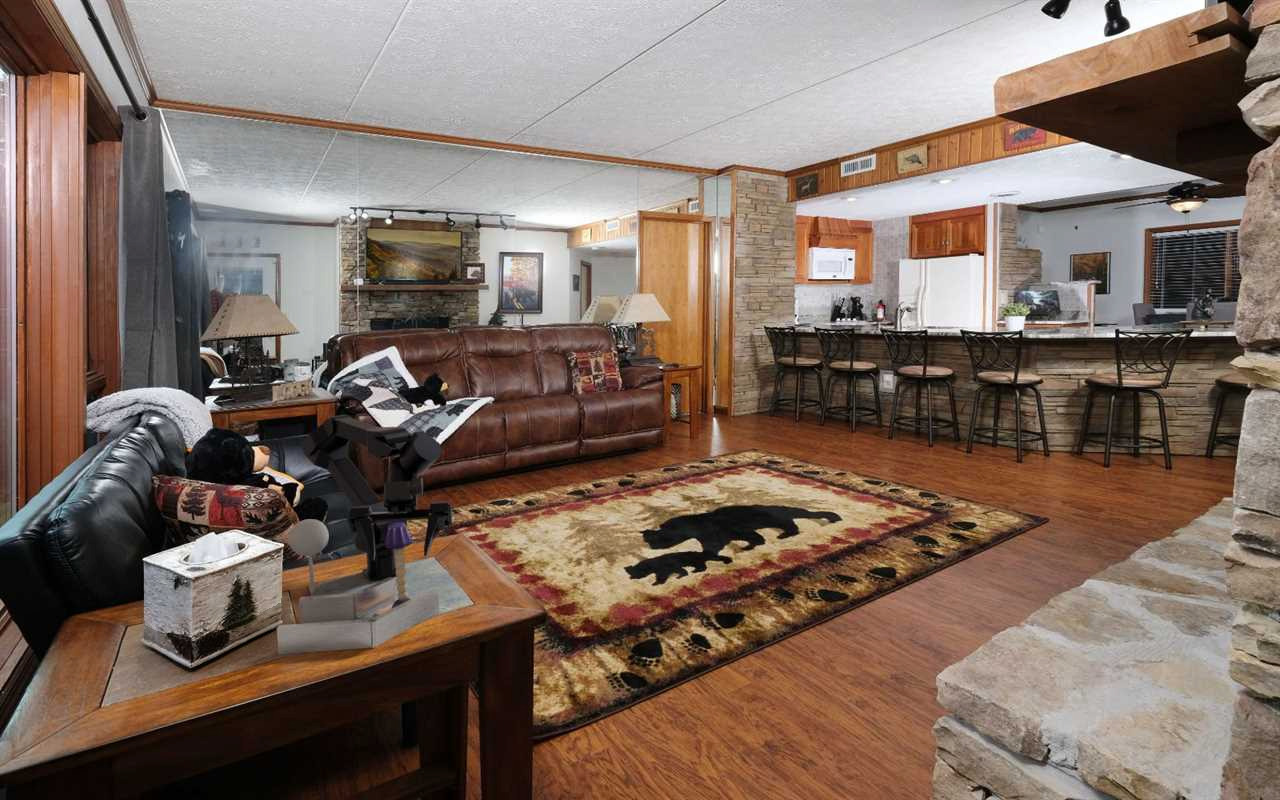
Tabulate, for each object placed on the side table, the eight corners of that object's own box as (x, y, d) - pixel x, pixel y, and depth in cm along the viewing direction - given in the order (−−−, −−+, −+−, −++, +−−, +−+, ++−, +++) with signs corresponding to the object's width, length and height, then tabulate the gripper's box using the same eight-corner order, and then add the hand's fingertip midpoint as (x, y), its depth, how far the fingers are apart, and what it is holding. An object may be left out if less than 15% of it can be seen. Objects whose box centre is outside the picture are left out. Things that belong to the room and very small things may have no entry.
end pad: (403, 600, 133) (403, 598, 133) (430, 608, 130) (430, 606, 129) (374, 614, 127) (374, 612, 126) (402, 623, 123) (401, 621, 123)
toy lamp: (399, 617, 125) (395, 529, 123) (382, 611, 127) (378, 524, 125) (420, 607, 129) (416, 522, 127) (403, 601, 131) (399, 517, 129)
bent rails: (268, 628, 121) (266, 604, 120) (419, 592, 137) (418, 570, 136) (285, 672, 107) (283, 645, 106) (452, 626, 122) (451, 602, 122)
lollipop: (338, 592, 136) (333, 519, 134) (300, 603, 131) (295, 528, 129) (323, 582, 141) (318, 512, 139) (286, 592, 136) (281, 520, 134)
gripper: (345, 465, 127) (337, 542, 118) (449, 460, 132) (449, 534, 123) (355, 494, 136) (348, 568, 127) (452, 489, 140) (452, 560, 131)
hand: (399, 557), depth 127 cm, fingers open, 9 cm apart
